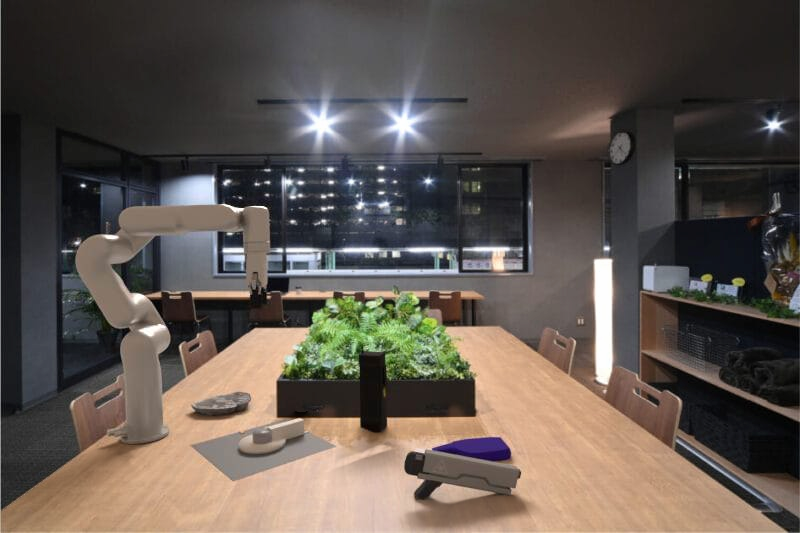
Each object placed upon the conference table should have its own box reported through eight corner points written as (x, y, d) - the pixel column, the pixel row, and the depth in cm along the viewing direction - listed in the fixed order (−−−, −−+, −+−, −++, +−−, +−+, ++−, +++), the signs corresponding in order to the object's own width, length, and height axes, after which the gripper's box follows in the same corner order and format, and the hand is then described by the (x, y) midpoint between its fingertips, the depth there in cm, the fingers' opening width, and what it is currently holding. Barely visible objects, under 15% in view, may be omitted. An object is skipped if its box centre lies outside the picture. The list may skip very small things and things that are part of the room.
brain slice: (213, 422, 153) (213, 413, 153) (185, 412, 163) (184, 403, 163) (265, 406, 168) (264, 397, 168) (236, 397, 179) (235, 389, 179)
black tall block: (391, 426, 147) (389, 343, 146) (384, 433, 141) (382, 347, 140) (367, 423, 149) (365, 342, 148) (359, 430, 144) (357, 346, 143)
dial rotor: (251, 458, 121) (250, 442, 121) (231, 444, 130) (231, 429, 130) (313, 438, 133) (313, 424, 133) (291, 427, 142) (291, 413, 142)
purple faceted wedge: (499, 434, 132) (410, 441, 129) (514, 450, 121) (416, 459, 118) (500, 445, 132) (410, 452, 129) (514, 462, 121) (416, 471, 118)
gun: (397, 489, 106) (407, 445, 105) (509, 510, 107) (519, 465, 107) (398, 495, 103) (408, 449, 103) (512, 516, 105) (522, 471, 104)
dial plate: (233, 487, 110) (233, 480, 110) (190, 450, 131) (190, 444, 131) (336, 451, 129) (336, 445, 129) (284, 424, 150) (284, 418, 150)
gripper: (249, 249, 152) (251, 303, 152) (238, 248, 135) (240, 310, 135) (273, 248, 153) (275, 302, 153) (265, 248, 136) (268, 309, 136)
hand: (259, 306), depth 144 cm, fingers open, 9 cm apart
